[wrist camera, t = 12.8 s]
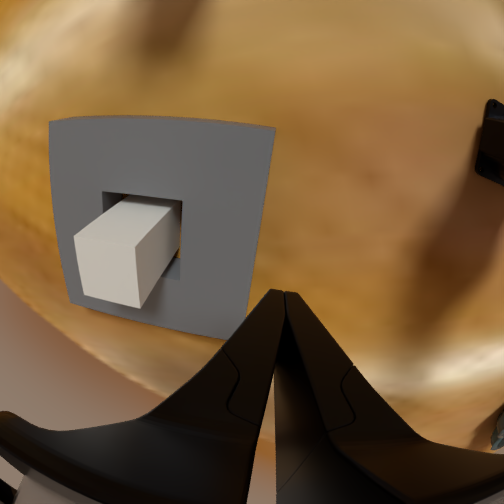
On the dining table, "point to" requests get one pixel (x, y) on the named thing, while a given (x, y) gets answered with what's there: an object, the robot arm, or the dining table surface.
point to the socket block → (170, 187)
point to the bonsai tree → (498, 433)
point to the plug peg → (128, 248)
